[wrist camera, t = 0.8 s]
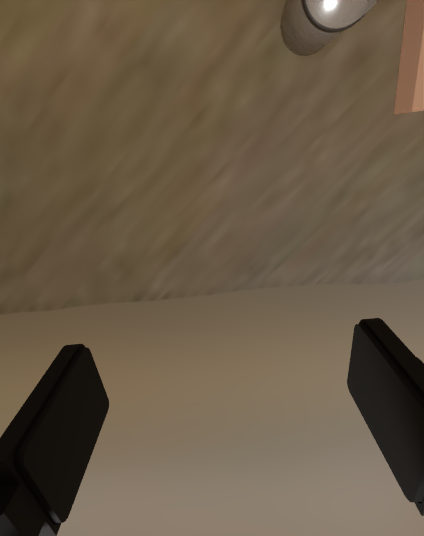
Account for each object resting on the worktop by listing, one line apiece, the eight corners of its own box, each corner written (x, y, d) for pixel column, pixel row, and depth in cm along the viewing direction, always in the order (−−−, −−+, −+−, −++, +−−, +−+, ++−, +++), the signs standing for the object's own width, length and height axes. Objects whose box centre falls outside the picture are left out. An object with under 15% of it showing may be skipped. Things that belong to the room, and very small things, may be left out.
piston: (278, -10, 26) (308, -78, 18) (338, -21, 26) (397, -95, 17) (280, 61, 28) (308, 30, 20) (335, 52, 28) (386, 17, 20)
